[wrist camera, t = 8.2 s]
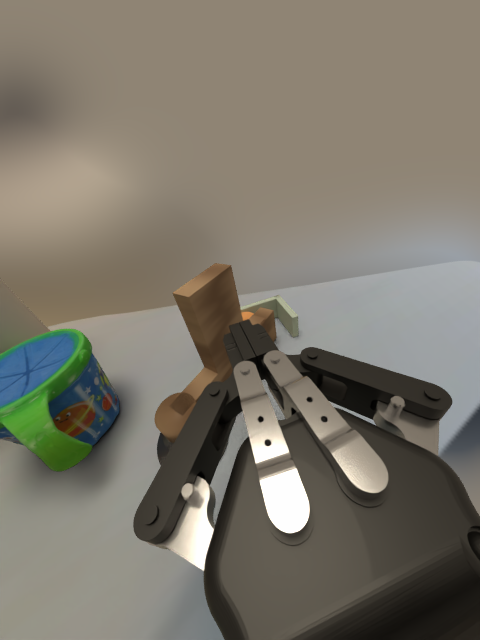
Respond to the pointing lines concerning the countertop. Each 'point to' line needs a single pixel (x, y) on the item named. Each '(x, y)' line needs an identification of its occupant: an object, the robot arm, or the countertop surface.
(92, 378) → the snack cup
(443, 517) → the robot arm
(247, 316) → the ball
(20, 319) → the cylinder vase
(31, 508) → the countertop surface
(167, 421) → the lever
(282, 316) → the sage green c-shaped clamp
